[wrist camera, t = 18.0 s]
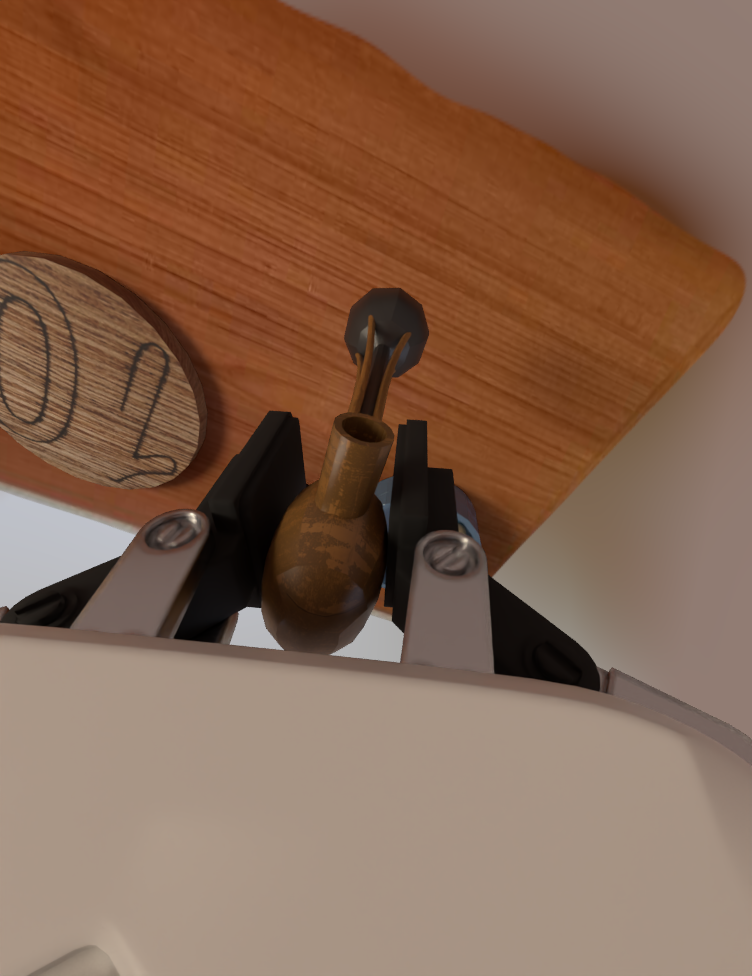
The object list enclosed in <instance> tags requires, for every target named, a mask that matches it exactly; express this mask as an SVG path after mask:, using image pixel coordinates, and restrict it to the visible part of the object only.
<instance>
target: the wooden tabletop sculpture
mask: <svg viewBox="0 0 752 976" xmlns="http://www.w3.org/2000/svg"><path fill="white" fill-rule="evenodd" d="M428 336H429V330H428V326H427V322H426V318H425V315H424V311H423V307H422V305H421V304H420V303H419V302H417V301H416V300H415V299H414V298H412V297H411V296H410V295H409V294H407V293H406V292H405V291H403V290H402V289H401V288H373V289H372V290H370V291H369V292H368V293H367V294H366V295H364V296H363V297H362V298H361V299H360V300H359V301H357V302H356V303H355V304H354V305H353V306H352V307H351V309H350V314H349V318H348V322H347V327H346V331H345V335H344V340H345V342H346V345H347V347H348V350H349V352H350V355H351V358H352V360H353V363H354V364H355V365H357V378H356V383H355V387H354V392H353V396H352V400H351V403H350V406H349V410H348V413H343V414H340V415H339V416H337V417H336V418H335V420H334V423H333V427H332V431H331V435H330V439H329V443H328V447H327V451H326V456H325V460H324V464H323V468H322V472H321V476H320V479H319V480H317V481H316V482H314V483H313V484H311V485H309V486H308V487H306V488H305V489H303V490H302V491H301V492H300V493H299V495H298V496H297V497H296V498H295V499H294V500H293V502H292V503H291V504H290V505H289V506H288V508H287V510H286V512H285V514H284V515H283V517H282V519H281V521H280V523H279V525H278V526H277V528H276V531H275V533H274V536H273V539H272V542H271V545H270V548H269V550H268V553H267V556H266V560H265V566H264V572H263V578H262V605H261V611H262V615H263V619H264V622H265V626H266V629H267V630H268V631H269V632H270V634H271V635H272V636H273V637H274V639H275V640H276V641H277V642H278V644H279V645H280V646H281V647H282V648H283V649H284V650H285V651H295V652H304V653H314V654H323V655H330V654H332V653H334V652H336V651H338V650H339V649H341V648H343V647H345V646H346V645H348V644H350V643H351V642H353V640H354V639H355V638H356V636H357V635H358V634H359V633H360V631H361V630H362V629H363V627H364V625H365V623H366V621H367V620H368V618H369V616H370V614H371V612H372V610H373V608H374V606H375V604H376V602H377V600H378V597H379V594H380V590H381V587H382V583H383V580H384V576H385V570H386V564H387V546H388V530H387V523H386V518H385V514H384V510H383V505H382V502H381V501H380V500H379V499H378V497H377V496H376V495H375V494H374V493H375V490H376V488H377V485H378V482H379V479H380V476H381V474H382V471H383V468H384V466H385V463H386V460H387V457H388V455H389V452H390V449H391V446H392V444H393V441H394V434H393V432H392V430H391V428H390V427H388V426H387V425H386V424H385V423H384V422H382V417H383V412H384V408H385V403H386V398H387V393H388V389H389V385H390V382H391V379H392V377H399V376H401V375H402V374H404V373H405V372H406V371H408V370H409V369H411V368H412V367H414V366H415V365H416V364H418V363H419V361H420V358H421V356H422V353H423V350H424V347H425V344H426V342H427V339H428Z"/></svg>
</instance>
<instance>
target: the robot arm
mask: <svg viewBox="0 0 752 976" xmlns="http://www.w3.org/2000/svg"><path fill="white" fill-rule="evenodd" d="M305 488H306V480H305V471H304V462H303V452H302V443H301V434H300V425H299V420H298V418H295V417H292V414H291V412H281V411H269V412H268V413H267V415H266V416H265V418H264V419H263V421H262V422H261V424H260V425H259V426H258V428H257V429H256V431H255V432H254V434H253V435H252V436H251V438H250V439H249V441H248V442H247V444H246V445H245V447H244V448H243V449H242V451H241V452H240V454H237V455H235V456H234V457H233V459H232V460H231V461H230V463H229V464H228V466H227V467H226V468H225V470H224V471H223V473H222V474H221V475H220V477H219V478H218V480H217V481H216V482H215V484H214V485H213V487H212V488H211V490H210V491H209V492H208V494H207V495H206V497H205V498H204V499H203V501H202V502H201V504H200V505H199V506H198V508H197V509H196V510H193V509H177V510H173V511H169V512H165V513H163V514H161V515H158V516H156V517H155V518H153V519H152V520H150V521H149V522H147V523H146V524H145V525H144V526H143V527H142V528H141V529H140V530H139V532H138V533H137V535H136V536H135V537H134V539H133V540H132V542H131V543H130V544H129V546H128V547H127V549H126V550H125V551H124V553H123V554H122V556H119V557H117V558H115V559H112V560H110V561H107V562H105V563H103V564H100V565H98V566H96V567H93V568H91V569H89V570H86V571H84V572H81V573H79V574H76V575H74V576H72V577H69V578H67V579H64V580H62V581H60V582H57V583H55V584H53V585H50V586H48V587H45V588H43V589H41V590H39V591H37V592H35V593H33V594H31V595H29V596H27V597H25V598H24V599H22V600H21V601H20V602H18V603H17V604H15V605H14V606H13V607H12V608H11V609H10V610H9V609H8V608H7V606H5V607H1V608H0V976H752V739H750V738H749V737H748V736H747V735H746V734H744V733H742V732H741V731H739V730H738V729H736V728H734V727H732V726H731V725H730V724H728V723H726V722H723V721H721V720H719V719H717V718H715V717H713V716H711V715H709V714H707V713H705V712H703V711H701V710H699V709H697V708H695V707H693V706H690V705H688V704H686V703H684V702H682V701H680V700H678V699H676V698H674V697H672V696H670V695H668V694H666V693H664V692H662V691H660V690H658V689H655V688H654V687H651V686H649V685H647V684H645V683H643V682H641V681H639V680H637V679H635V678H633V677H631V676H629V675H627V674H625V673H622V672H621V671H619V670H616V669H614V668H611V669H610V671H609V672H607V671H605V670H603V669H601V668H599V667H597V666H596V664H595V663H594V661H593V660H592V658H591V657H590V655H589V654H588V653H587V652H586V651H585V650H584V649H583V648H582V647H581V646H580V645H579V644H578V643H577V642H576V641H574V640H573V639H571V638H570V637H569V636H568V635H567V634H565V633H564V632H563V631H561V630H560V629H559V628H557V627H556V626H555V625H553V624H552V623H550V622H549V621H548V620H547V619H546V618H544V617H543V616H542V615H540V614H539V613H538V612H536V611H535V610H534V609H532V608H531V607H530V606H528V605H527V604H526V603H524V602H523V601H522V600H520V599H519V598H518V597H517V596H515V595H514V594H512V593H511V592H510V591H509V590H507V589H506V588H505V587H503V586H502V585H501V584H499V583H498V582H497V581H495V580H494V579H493V578H492V577H490V576H489V575H488V570H487V558H486V555H485V551H484V550H483V548H482V547H481V546H480V544H479V543H478V542H477V541H475V540H474V539H473V538H472V537H470V536H468V535H465V534H463V533H461V532H459V528H458V518H457V508H456V499H455V489H454V479H453V471H452V469H443V468H429V467H428V464H427V421H422V420H407V425H402V424H399V428H398V437H397V446H396V456H395V465H394V475H393V484H392V494H391V503H390V514H389V528H388V546H387V564H386V582H385V600H384V607H393V613H392V622H393V623H394V624H395V625H396V626H397V627H398V628H399V629H400V630H401V631H402V632H403V633H404V638H403V646H402V654H401V661H400V663H396V662H387V661H378V660H369V659H360V658H351V657H341V656H332V655H323V654H314V653H304V652H295V651H285V650H276V649H266V648H255V647H246V646H236V645H229V644H230V641H231V638H232V635H233V632H234V630H235V627H236V624H237V620H238V611H240V610H242V609H244V608H246V607H255V608H261V605H262V578H263V572H264V566H265V560H266V556H267V553H268V550H269V548H270V545H271V542H272V539H273V536H274V533H275V531H276V528H277V526H278V525H279V523H280V521H281V519H282V517H283V515H284V514H285V512H286V510H287V508H288V506H289V505H290V504H291V503H292V502H293V500H294V499H295V498H296V497H297V496H298V495H299V493H300V492H301V491H302V490H303V489H305Z"/></svg>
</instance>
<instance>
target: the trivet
mask: <svg viewBox="0 0 752 976" xmlns="http://www.w3.org/2000/svg"><path fill="white" fill-rule="evenodd" d="M207 415H208V413H207V408H206V403H205V398H204V393H203V387H202V384H201V382H200V380H199V378H198V375H197V373H196V371H195V369H194V367H193V364H192V362H191V360H190V358H189V356H188V354H187V353H186V351H185V350H184V348H183V347H182V346H181V344H180V343H179V342H178V340H177V339H176V337H175V336H174V335H173V333H172V332H171V330H170V329H169V328H168V326H167V325H166V324H165V323H164V322H163V321H162V320H161V319H160V318H159V317H158V316H157V315H156V314H155V313H154V312H153V311H152V310H151V309H150V308H149V307H148V306H147V305H146V304H145V303H143V302H142V301H141V300H140V299H139V298H138V297H137V296H136V295H135V294H134V293H132V292H131V291H129V290H128V289H126V288H125V287H123V286H122V285H120V284H118V283H117V282H115V281H114V280H112V279H111V278H109V277H108V276H106V275H105V274H103V273H102V272H100V271H99V270H96V269H94V268H91V267H88V266H86V265H83V264H81V263H78V262H76V261H73V260H70V259H68V258H65V257H63V256H60V255H52V254H44V253H35V252H27V251H22V252H15V253H9V254H3V255H0V426H1V427H2V428H3V429H4V430H5V431H6V432H7V433H8V434H9V435H11V436H12V437H13V438H14V439H15V440H16V441H17V442H18V443H19V444H21V445H22V446H24V447H25V448H26V449H28V450H29V451H31V452H32V453H34V454H35V455H37V456H38V457H40V458H41V459H43V460H44V461H46V462H47V463H49V464H51V465H53V466H55V467H57V468H59V469H61V470H63V471H65V472H67V473H69V474H71V475H73V476H75V477H77V478H80V479H84V480H87V481H90V482H93V483H96V484H99V485H103V486H108V487H116V488H124V489H139V488H150V487H155V486H158V485H160V484H163V483H165V482H168V481H170V480H173V479H174V478H175V477H176V476H177V475H179V474H180V473H181V472H182V471H183V470H184V469H185V468H186V467H188V466H189V464H190V463H191V462H192V461H193V460H194V458H195V457H196V456H197V454H198V451H199V449H200V447H201V445H202V443H203V441H204V439H205V434H206V425H207Z"/></svg>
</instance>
